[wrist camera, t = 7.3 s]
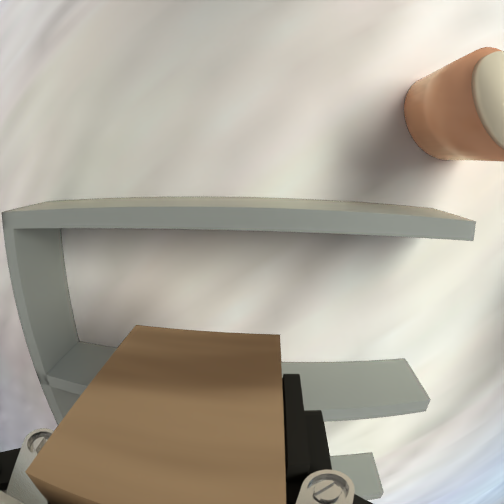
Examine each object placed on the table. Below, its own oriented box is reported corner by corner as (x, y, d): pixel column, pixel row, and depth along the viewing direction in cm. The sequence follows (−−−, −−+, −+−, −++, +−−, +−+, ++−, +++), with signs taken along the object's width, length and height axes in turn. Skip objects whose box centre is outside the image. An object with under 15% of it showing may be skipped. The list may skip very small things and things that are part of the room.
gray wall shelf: (48, 201, 19) (1, 212, 14) (432, 208, 18) (475, 221, 13) (102, 439, 25) (83, 473, 20) (369, 458, 24) (380, 498, 19)
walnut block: (135, 325, 10) (25, 471, 4) (279, 334, 10) (286, 531, 4) (154, 424, 12) (100, 556, 5) (271, 435, 12) (268, 586, 5)
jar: (402, 69, 16) (465, 26, 8) (470, 87, 15) (544, 65, 8) (404, 153, 17) (477, 149, 10) (473, 165, 17) (553, 172, 9)
